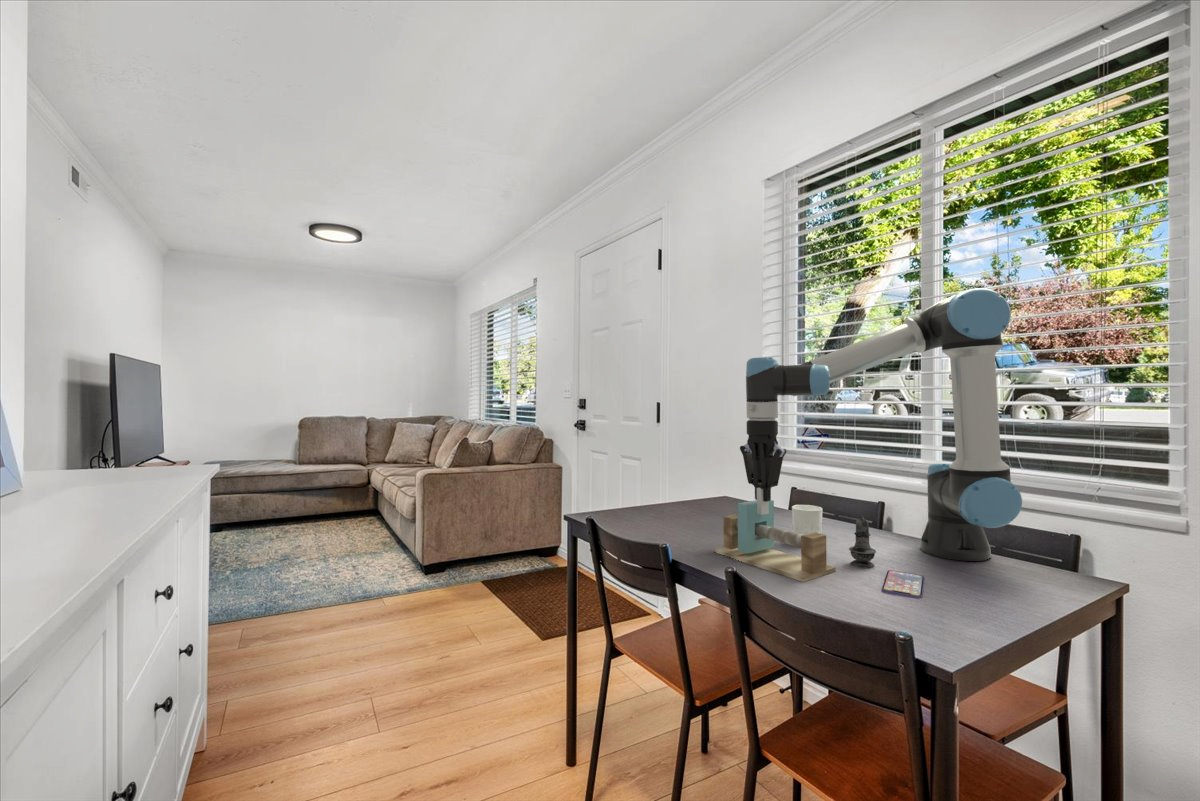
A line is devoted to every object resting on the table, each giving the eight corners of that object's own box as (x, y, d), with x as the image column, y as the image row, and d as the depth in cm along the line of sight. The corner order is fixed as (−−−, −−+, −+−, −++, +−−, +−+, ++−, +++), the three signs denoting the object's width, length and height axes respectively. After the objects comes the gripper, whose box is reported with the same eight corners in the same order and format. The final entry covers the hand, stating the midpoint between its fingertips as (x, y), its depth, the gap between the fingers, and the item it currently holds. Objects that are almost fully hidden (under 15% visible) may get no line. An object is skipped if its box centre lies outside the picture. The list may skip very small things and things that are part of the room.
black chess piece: (870, 561, 133) (870, 512, 133) (880, 568, 128) (880, 517, 128) (845, 560, 134) (845, 512, 134) (854, 568, 128) (853, 517, 128)
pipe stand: (835, 571, 126) (835, 532, 126) (803, 581, 119) (802, 540, 119) (745, 545, 148) (745, 512, 148) (714, 552, 142) (713, 518, 142)
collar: (774, 547, 139) (773, 500, 139) (747, 553, 134) (746, 505, 134) (764, 544, 142) (764, 498, 142) (738, 551, 136) (737, 503, 136)
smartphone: (924, 579, 121) (922, 601, 109) (887, 573, 125) (880, 593, 112) (924, 575, 121) (922, 596, 109) (887, 569, 125) (881, 589, 112)
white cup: (786, 541, 153) (786, 505, 153) (812, 539, 154) (812, 504, 154) (802, 548, 145) (801, 511, 145) (828, 546, 146) (828, 509, 146)
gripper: (731, 419, 139) (732, 511, 139) (773, 420, 128) (774, 520, 128) (751, 418, 143) (752, 507, 143) (793, 419, 132) (794, 516, 132)
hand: (762, 513), depth 136 cm, fingers closed
